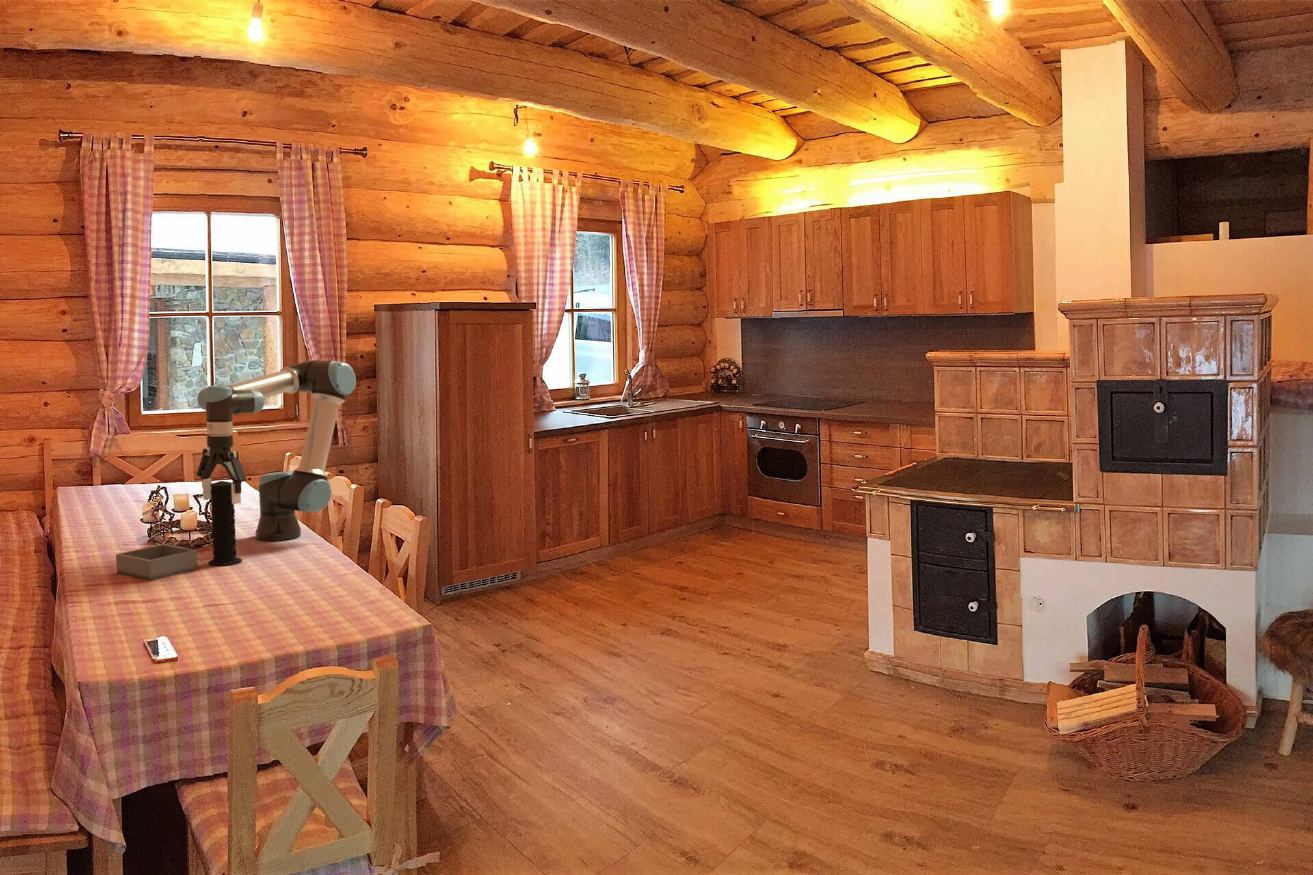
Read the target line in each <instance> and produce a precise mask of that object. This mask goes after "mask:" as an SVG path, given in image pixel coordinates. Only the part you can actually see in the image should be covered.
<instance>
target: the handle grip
mask: <svg viewBox="0 0 1313 875" xmlns="http://www.w3.org/2000/svg"><path fill="white" fill-rule="evenodd" d="M231 484H232V481H231V482H230V481H226V480H225V481H224V480H220V481H216V482H212V484H210V486H211V499H210V505H211V507H210V509H211V519H212V520H211V528H212V530H211V532H212V533H211V534H212V545H213V546H212V549H213V551H212V555H213V558H212V559H211V560H209V561H208V562H207V564H208V565H209V566H211V567H212V566H213V567H230V566H235V565H239V564H241V563H243V559H241V558H240V557H238V556H237V548H236V547H237V544H236V543H237V538H236V537H237V535H236V518H235V517H236V516H235V513H236V510H235V504H232V488H231Z"/></svg>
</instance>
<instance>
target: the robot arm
mask: <svg viewBox="0 0 1313 875" xmlns="http://www.w3.org/2000/svg"><path fill="white" fill-rule="evenodd" d="M356 384H357V377H356V373H355V372H354V369H353V367H352V366H351V365H350V364H349V363H347V362H343V361H338V360H318V359H317V360H316V359H312V360H307V361H302V362H299V363H294V364H292V365H288V366H284V367H282V368H281V369H280V370H279V371H277V372H273V373H270V374H265V375H261V376H258V377H254V378H250V379H246V380H243V381H239V382H235V383H231V384H228V385H225V384H224V385H222V384H221V385H218V384H217V385H208V386H207V387H206V388H203V389H201V390H200V391H199V392H198V395H197V397H196V401H197V404H198V406H199V408H201V409H202V410H203V411H205V416H206V418H205V419H206V434H207V436H206V446H207V448H203V449H202V455H201V456H202V457H201V460H200V462H199V466H198V469H197V472H196V476H197V477H200V479H201V487H202V499H203V501H204V500H205V501H206V500H212V499H211V486H210V484H212V483H213V482H212V481H213V480H212V476H211V475H212V473H214V470H215V468H216V467H217V465H221V466H222V467H223V468H225V469H226V472H227V473H228V475H229V478H230V479H231V483H232V484H231V488H232V504H234V505H238V504H241V503H242V499H241V498H242V496H241V494H242V483H244V482H246V481H247V478H246V474H245V472H244V469H243V466H242V463H241V461H240V457H239V451H237V450H236V451H235V450H234V451H231V450H232V449H231V448H233V446H234V436H233V433H234V427H233V416H235V415H243V414H251V415H252V414H254V413H259V412H261V411H262V410H263V408H264V405H265V399H267V398H271V397H274V396H277V395H281V394H285V393H288V394H295V393H300V392H301V393H310V396H311V397H312V398H313V405H312V409H311V413H310V419H309V421H308V427H307V431H306V436H305V440H304V445H303V449H302V454H301V456H300V457H301V458H300V462H299V465H298V467H296V468H295V469H293V471H292V470H287V471H286V470H285V471H277V472H271V473H265V474H261V475H260V476H259V479H258V480H259V481H258V493H259V494H258V496H259V499H258V500H259V510H260V511H259V515H260V516H259V519H258V522H257V523H258V524H257V527H256V530H255V539H256V540H259V541H267V542H277V541H280V542H281V541H286V540H285V539H289V540H293V539H292V538H294V539H296V538H295V537H297V538H300V537H301V536H302V529H301V526H300V524H299V521H298V518H297V515H296V511H298V512H303V513H318V512H321V511H322V510H324V509H325V508H326V507H327V506H328V504H329V502H330V500H331V498H332V488H331V485H330V483H329V481H328V478H329V477H328V476H329V475H328V474H327V473H326V471H325V470H326V467H327V466H326V465H327V462H328V458H329V453H330V449H331V448H330V447H331V444H332V440H333V435H334V432H335V431H334V430H335V427H336V421H337V417H338V412H339V408H340V405H342V404H344V403H345V402H346V398H347V396H348V395H350V394H352V392H354V390H355V389H356ZM300 535H301V536H300Z"/></svg>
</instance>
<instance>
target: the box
mask: <svg viewBox="0 0 1313 875" xmlns="http://www.w3.org/2000/svg"><path fill="white" fill-rule="evenodd" d="M115 559H116V560H115V564H116V574H118V575H124V576H128V577H130V578H131V577H133V578H137V579H141V580H145V581H150V582H151V581H156V580H159V579H164V578H167V577H172V576H175V575H180V574H183V573H187V572H190V571H191V572H192V571H196V570H198V569H199V568H198V565H199V564H198V550H197V549H192V548H187V547H183V546H176V545H171V544H166V543H161V544H157V545H153V546H152V545H151V546H148V547H143V548H139V549H138V548H137V549H134V550H130V551H126V552H125V551H124V552H119V553H115Z"/></svg>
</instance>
